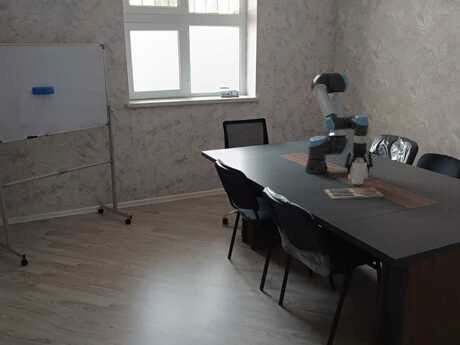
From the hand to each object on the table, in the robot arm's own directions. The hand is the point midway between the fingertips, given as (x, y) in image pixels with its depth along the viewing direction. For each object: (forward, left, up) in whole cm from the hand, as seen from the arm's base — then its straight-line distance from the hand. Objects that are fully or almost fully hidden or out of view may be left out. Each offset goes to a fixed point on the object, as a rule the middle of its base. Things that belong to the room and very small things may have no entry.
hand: (357, 178), depth 260 cm
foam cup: (0, 0, -3) cm, 3 cm away
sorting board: (+16, -8, -4) cm, 19 cm away
